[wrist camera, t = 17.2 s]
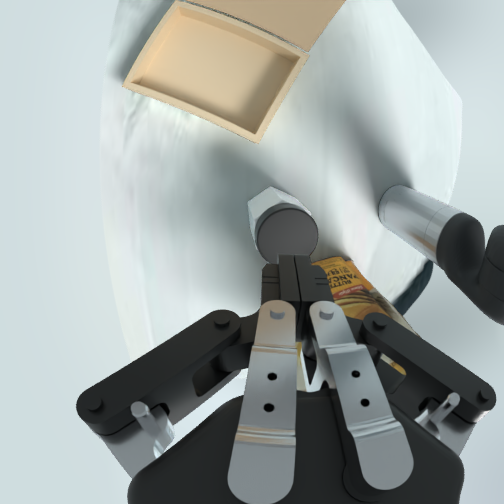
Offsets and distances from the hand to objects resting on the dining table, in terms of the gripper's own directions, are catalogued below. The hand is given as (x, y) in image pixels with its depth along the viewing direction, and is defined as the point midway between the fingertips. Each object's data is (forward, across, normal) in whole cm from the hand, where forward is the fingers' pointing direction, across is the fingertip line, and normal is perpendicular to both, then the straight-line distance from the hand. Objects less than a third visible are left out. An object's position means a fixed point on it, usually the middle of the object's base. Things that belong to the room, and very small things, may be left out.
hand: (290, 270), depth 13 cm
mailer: (+32, +9, -14) cm, 36 cm away
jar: (+32, 0, +9) cm, 33 cm away
